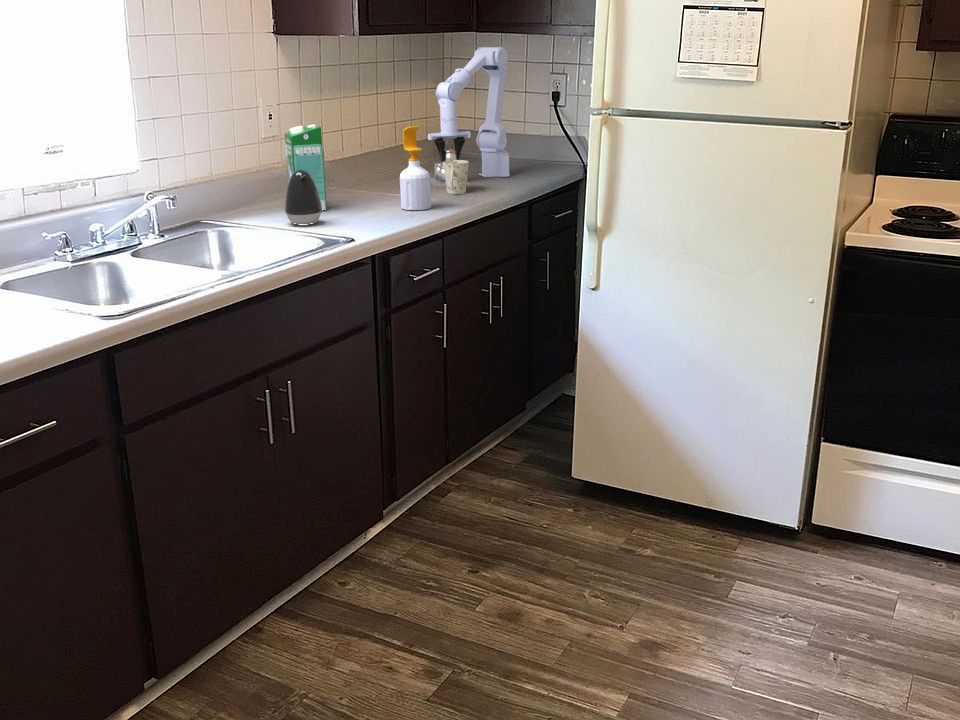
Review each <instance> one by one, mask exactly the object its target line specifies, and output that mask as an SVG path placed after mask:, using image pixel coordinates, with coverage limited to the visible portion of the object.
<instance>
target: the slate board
mask: <svg viewBox="0 0 960 720" xmlns="http://www.w3.org/2000/svg"><path fill="white" fill-rule="evenodd" d="M430 185H433V186H434V187H446V182H441V181H439V179H435V177H430ZM467 185H471V183H469V182H468V181H467Z"/></svg>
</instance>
